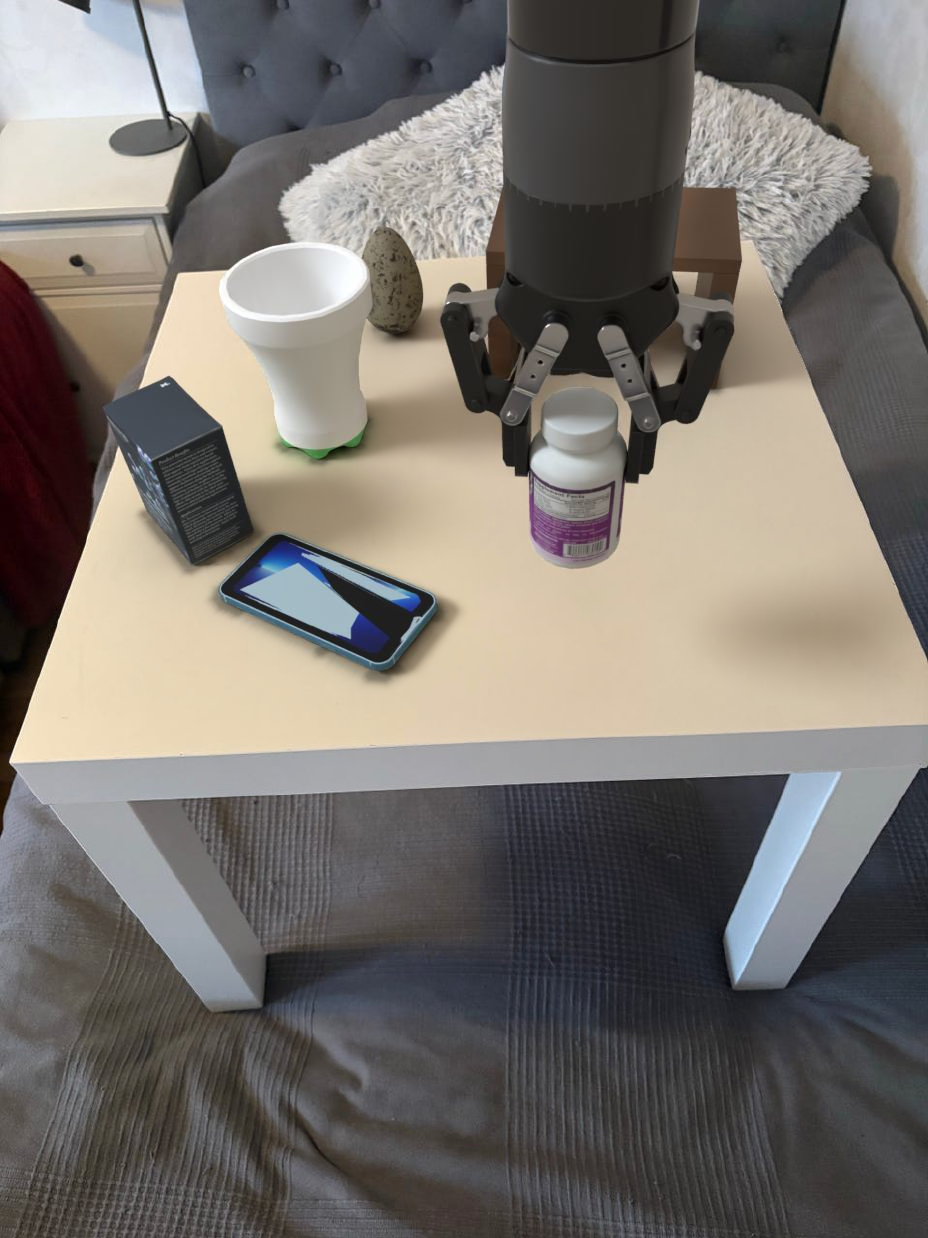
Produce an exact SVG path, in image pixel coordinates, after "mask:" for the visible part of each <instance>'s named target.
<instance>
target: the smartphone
mask: <svg viewBox="0 0 928 1238" xmlns="http://www.w3.org/2000/svg"><path fill="white" fill-rule="evenodd" d="M218 593H219V596H220V598H221V600H222V601H223V602H224V603H226V604H228V605H230V606H233V607H235V608H237V609H239V610H242V611H243V612H246V613H248V614H250V615H252V616H254V617H257V618H259V619H261V620H264V621H265V622H268V623H269V624H272V625H274V626H276V627H279V628H281V629H283V630H285V631H287V632H289V633H291V634H294V635H296V636H298V637H300V638H303V639H305V640H307V641H309V642H311V643H314V644H316V645H318V646H320V647H323V648H324V649H327V650H329V651H331V652H334V653H336V654H338V655H339V656H342V657H345V658H346V659H348V660H351V661H353V662H355V663H358V664H360V665H362V666H364V667H366V668H369V669H370V670H373V671H377V672H378V671H380V672H382V671H386V670H388V669H390V668H392V667H394V666H395V664H396V663H397V661H398V660H399V659H400V658H401V657H402V655H403V654H404V652H406V650H407V649H408V648H409V646H410V645H411V644H412V642H413V641H414V640H415V639H416V637H417V636H418V635H419V634H420V633H421V631H422V630H423V629H424V628H425V626H426V625H427V624H428V622H429V621H430V620H431V619H432V617H433V616H434V615H435V614H436V613H437V610H438V601H437V597H436V595H435V594H434V593H433V592H431V591H430V590H426V589H424V588H421V587H419V586H416V585H414V584H412V583H409V582H406V581H404V580H402V579H400V578H397V577H394V576H391V575H390V574H387V573H385V572H382V571H379V570H377V569H375V568H372V567H370V566H367V565H365V564H362V563H359V562H358V561H355V560H353V559H350V558H347V557H345V556H344V555H343V556H342V555H340V554H338V553H335V552H332V551H330V550H327V549H325V548H323V547H320V546H318V545H315V544H314V543H310V542H308V541H305V540H303V539H301V538H298V537H296V536H293V535H291V534H288V533H285V532H274V533H271V534H270V535H268V536H266V538H265V539H264V540H263V541H261V543H260V544H258V546H257V547H256V548H254V550H252V552H251V553H250V554H249V555H247V557H246V558H245V559H244V560H243V561H242V562H240V564H238V565H237V567H236V568H234V569H233V571H231V572H230V574H228V576H226V577H225V578H224V579H223V580H222V581H221V583H220V584H219V585H218Z"/></svg>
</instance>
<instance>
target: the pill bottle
mask: <svg viewBox="0 0 928 1238" xmlns="http://www.w3.org/2000/svg"><path fill="white" fill-rule="evenodd" d="M540 411H541V414H540V424H539V425H540V429H539V430H538V431H537V432H536V433H535V434H534V436H533V438H532V439H531V445H530V449H529V472H528V511H529V514H528V519H529V520H528V521H529V538H530V539H529V540H530V543H531V545H532V548H533V549H534V551H535V552H536V553H537V555H539V556H540V558H542V559H543V560H544V561H545V562H547V563H549V564H551V565H553V566H555V567H559V568H564V569H569V570H580V569H587V568H591V567H593V566H596V565H599V564H601V563H603V562H605V561H606V560H608V559H609V558H610V557H611V556H613V554H614V553H615V552H616V550H617V548H618V546H619V543H620V540H621V532H622V521H623V511H624V510H623V509H624V500H625V499H624V498H625V490H626V489H625V488H626V483H625V479H626V468H627V458H628V452H627V451H628V445H627V443H626V440H625V438H624V437H623V435H622V433H621V432H620V431H619V429H618V428H619V407H618V404H617V402H616V400H615V399H614V397H612V396H611V395H609V394H608V393H607V392H605V391H603V390H601V389H598V388H594V387H589V386H571V387H566V388H562V389H560V390H558V391H555V392H554V393H551V395H549V396H548V397H547V398H546V399H545V400H544V402H543V404H542V406H541V410H540Z"/></svg>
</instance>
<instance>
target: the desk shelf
mask: <svg viewBox="0 0 928 1238" xmlns="http://www.w3.org/2000/svg"><path fill="white" fill-rule="evenodd" d="M737 199H738V198H737V190H736V188H735V187H704V186H703V187H701V186H700V187H699V186H697V187H696V186H695V187H694V186H683V191H682V199H681V207H680V215H679V223H678V231H677V239H676V247H675V255H674V263H673V272H678V273H697V277H696V283H695V290H694V295H693V296H696V297H700V298H705V299H708V297H709V296H710V295H711V294H713V293H715V292H718V291H724V292H727V293H729V294H730V295H731V297H732V300H733V304H734V303H735V298H736V293H737V288H738V282H739V278H740V273H741V268H742V263H743V253H742V243H741V231H740V222H739V221H740V219H739V211H738V210H739V209H738V200H737ZM485 273H486V277H485V278H486V289H493V288H498V285H499V282H500V280H501V279H502V277H503V275H504V273H505V244H504V199H503V186H502V188H501V190H500V195H499V199H498V203H497V207H496V211H495V213H494V218H493V221H492V226H491V229H490V233H489V237H488V241H487V244H486V250H485ZM518 344H519V342H518V340H517V339H516V338H515V337H514V335H513V334H512V333H511V332H510V330H509V329H508V328H507V327H506V326H505V324H504V323H503V322H502V321H501V319H500V318H499V317H498V315H497V316H494V317H493V318H492V319H491V322H490V327H489V331H488V334H487V350H488V354H489V358H490V362H491V365H492V369H493V373H494V376H496V377H499V378H502V379H509V377H510V375H511V373H512V371H513V369H514V367H515V365H514V364H515V360H516V355H517V349H518ZM721 368H722V364H721V365H720V367H719V370H718V372H717V374H716V377H715V379H714V381H713V384H712V386H711V388H710V390H717V388H718V383H719V377H720V373H721Z"/></svg>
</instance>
